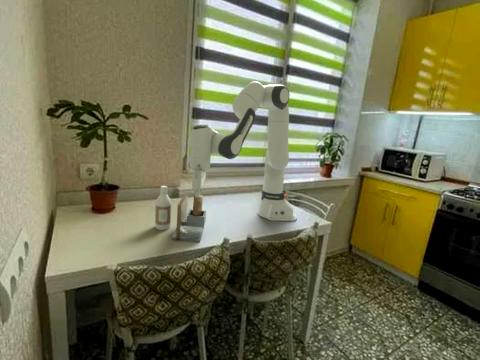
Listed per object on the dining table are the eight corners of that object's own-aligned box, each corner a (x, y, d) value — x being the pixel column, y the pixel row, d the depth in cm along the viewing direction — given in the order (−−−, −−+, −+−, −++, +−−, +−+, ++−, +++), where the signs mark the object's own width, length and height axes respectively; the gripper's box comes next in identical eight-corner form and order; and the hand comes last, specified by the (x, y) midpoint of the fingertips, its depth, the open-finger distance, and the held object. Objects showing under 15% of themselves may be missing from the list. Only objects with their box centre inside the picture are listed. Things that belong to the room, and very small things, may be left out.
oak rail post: (201, 220, 129) (203, 195, 126) (200, 223, 125) (202, 198, 122) (192, 219, 129) (194, 194, 126) (191, 222, 125) (193, 197, 122)
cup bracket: (205, 227, 136) (207, 195, 132) (201, 242, 121) (204, 207, 117) (179, 225, 136) (180, 193, 132) (172, 239, 120) (173, 204, 116)
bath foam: (154, 230, 128) (155, 188, 123) (155, 224, 134) (156, 184, 129) (170, 230, 129) (171, 188, 124) (170, 224, 136) (171, 184, 131)
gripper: (204, 168, 110) (203, 201, 114) (209, 159, 130) (208, 188, 134) (188, 167, 110) (187, 200, 113) (195, 158, 130) (194, 187, 133)
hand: (198, 193), depth 124 cm, fingers open, 8 cm apart
